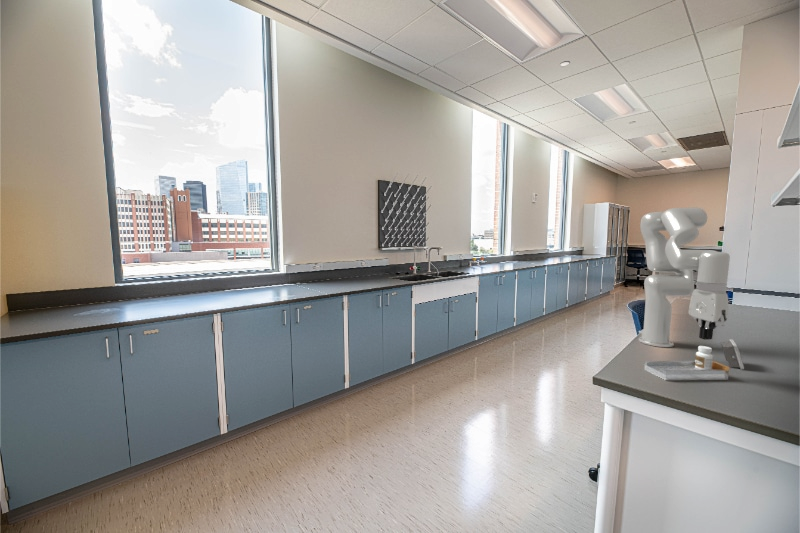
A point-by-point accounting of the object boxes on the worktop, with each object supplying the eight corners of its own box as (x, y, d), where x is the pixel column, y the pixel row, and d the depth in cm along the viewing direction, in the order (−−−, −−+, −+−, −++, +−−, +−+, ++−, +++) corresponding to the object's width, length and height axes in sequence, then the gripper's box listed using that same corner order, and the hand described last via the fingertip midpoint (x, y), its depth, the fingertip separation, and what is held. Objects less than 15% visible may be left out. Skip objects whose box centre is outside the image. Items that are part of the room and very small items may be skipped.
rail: (644, 369, 119) (645, 357, 118) (702, 369, 119) (703, 357, 119) (665, 380, 110) (666, 367, 109) (727, 379, 111) (729, 366, 110)
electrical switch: (744, 370, 118) (743, 345, 118) (724, 368, 122) (723, 343, 121) (739, 363, 126) (738, 339, 125) (721, 361, 129) (719, 338, 129)
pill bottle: (691, 365, 117) (693, 345, 117) (704, 366, 117) (706, 345, 116) (701, 370, 113) (703, 349, 112) (715, 371, 112) (717, 349, 112)
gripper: (681, 283, 120) (676, 332, 122) (722, 291, 105) (716, 346, 107) (701, 283, 120) (695, 331, 122) (745, 291, 105) (738, 346, 107)
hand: (705, 338), depth 115 cm, fingers closed
